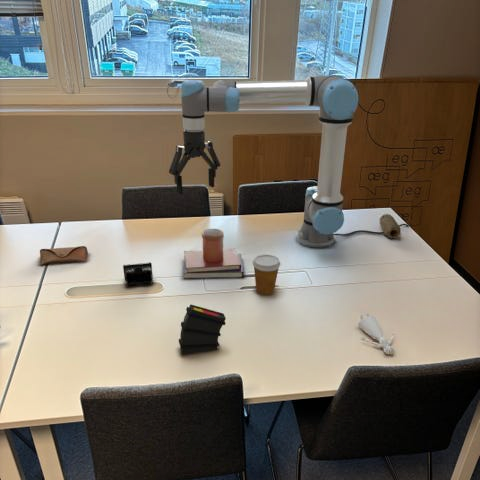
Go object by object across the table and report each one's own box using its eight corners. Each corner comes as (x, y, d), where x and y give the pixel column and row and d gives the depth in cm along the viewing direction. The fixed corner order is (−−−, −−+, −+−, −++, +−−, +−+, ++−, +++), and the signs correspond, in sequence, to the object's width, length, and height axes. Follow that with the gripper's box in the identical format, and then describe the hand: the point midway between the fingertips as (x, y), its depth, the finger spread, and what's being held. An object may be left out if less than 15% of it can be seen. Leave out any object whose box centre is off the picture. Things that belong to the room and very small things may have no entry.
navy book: (241, 259, 198) (241, 253, 196) (243, 278, 185) (243, 271, 184) (184, 260, 197) (184, 254, 195) (183, 279, 184) (183, 272, 183)
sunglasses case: (38, 265, 190) (36, 247, 190) (41, 266, 197) (39, 249, 197) (87, 261, 194) (85, 243, 194) (89, 262, 201) (87, 246, 200)
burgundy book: (235, 253, 197) (235, 248, 196) (241, 269, 185) (241, 264, 184) (184, 256, 194) (183, 251, 193) (186, 273, 182) (186, 268, 181)
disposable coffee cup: (278, 284, 181) (280, 254, 175) (278, 298, 174) (280, 267, 167) (252, 283, 182) (253, 253, 176) (250, 296, 174) (251, 265, 168)
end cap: (152, 275, 186) (150, 259, 182) (154, 285, 180) (152, 268, 176) (124, 278, 184) (122, 262, 180) (125, 288, 178) (123, 271, 174)
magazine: (168, 345, 146) (188, 303, 141) (208, 355, 152) (229, 314, 146) (170, 353, 143) (191, 310, 138) (211, 362, 149) (232, 321, 143)
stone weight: (375, 226, 228) (377, 212, 225) (390, 226, 229) (392, 212, 225) (386, 240, 216) (389, 225, 212) (402, 239, 216) (405, 225, 213)
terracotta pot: (223, 253, 192) (223, 228, 186) (224, 262, 185) (224, 236, 180) (202, 253, 191) (201, 228, 186) (202, 262, 185) (201, 237, 179)
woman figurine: (382, 309, 160) (411, 344, 146) (379, 320, 162) (407, 356, 148) (348, 313, 157) (374, 349, 143) (346, 324, 160) (371, 361, 146)
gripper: (218, 123, 183) (218, 181, 194) (156, 131, 171) (161, 192, 182) (229, 127, 178) (229, 186, 189) (167, 136, 166) (170, 198, 177)
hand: (195, 189), depth 186 cm, fingers open, 13 cm apart
